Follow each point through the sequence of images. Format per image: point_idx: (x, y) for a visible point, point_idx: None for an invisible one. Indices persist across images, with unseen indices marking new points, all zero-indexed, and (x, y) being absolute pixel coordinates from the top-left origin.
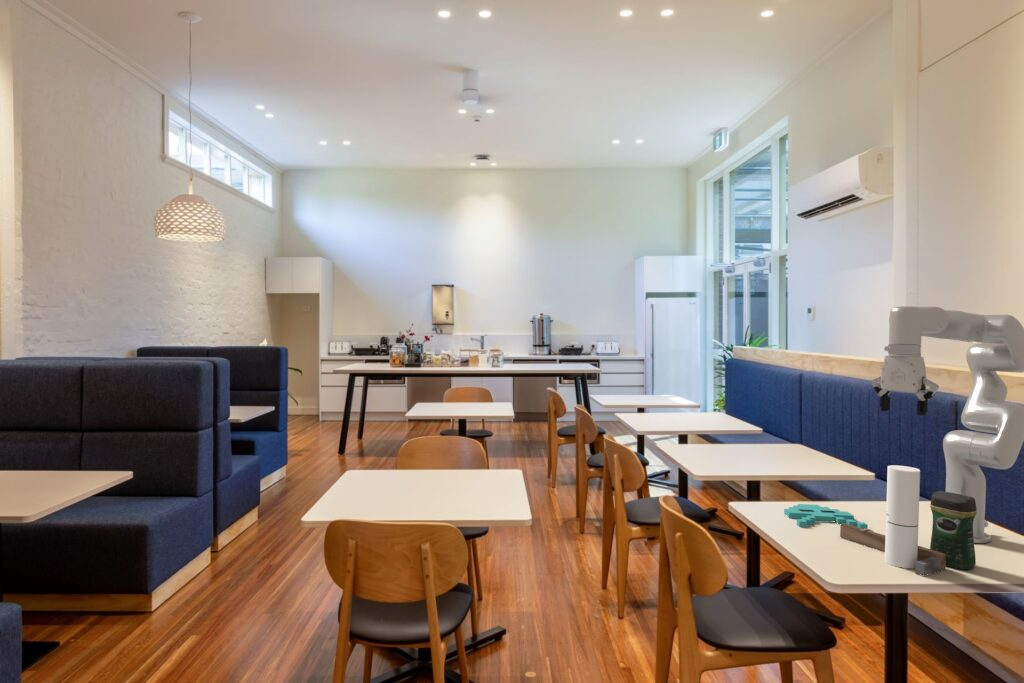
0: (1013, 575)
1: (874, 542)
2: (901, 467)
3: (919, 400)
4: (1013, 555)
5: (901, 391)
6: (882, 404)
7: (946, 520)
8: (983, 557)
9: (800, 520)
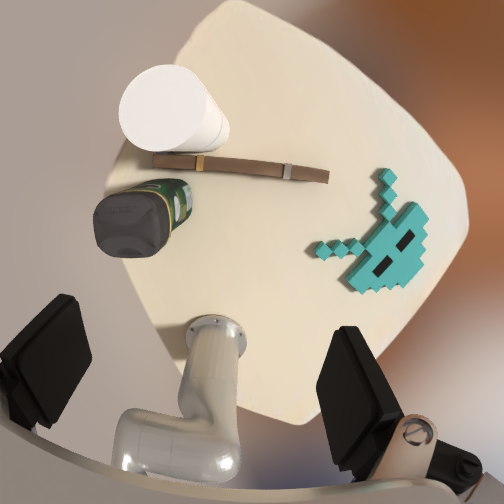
0: None
1: (263, 161)
2: (170, 113)
3: (17, 377)
4: (148, 311)
5: (72, 458)
6: (359, 356)
7: (139, 187)
8: (159, 270)
9: (391, 175)
